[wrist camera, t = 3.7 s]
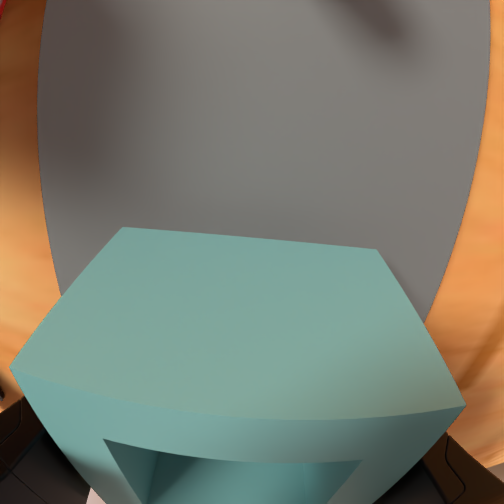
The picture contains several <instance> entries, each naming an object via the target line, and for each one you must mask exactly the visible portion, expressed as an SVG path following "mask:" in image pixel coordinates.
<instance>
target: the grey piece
mask: <svg viewBox="0 0 504 504" xmlns="http://www.w3.org/2000/svg"><path fill="white" fill-rule="evenodd" d="M489 61H490V2H489V0H47V2H46V7H45V14H44V20H43V27H42V35H41V45H40V55H39V69H38V90H37V132H38V153H39V167H40V179H41V188H42V197H43V205H44V212H45V219H46V225H47V231H48V237H49V243H50V248H51V253H52V258H53V263H54V268H55V272H56V276H57V281H58V285H59V289H60V293H61V297H62V295H63V294H64V293H65V292H66V290H67V289H68V288H69V287H70V286H71V284H72V283H73V282H74V281H75V280H76V278H77V277H78V276H79V275H80V274H81V273H82V271H83V270H84V269H85V268H86V267H87V266H88V264H89V263H90V262H91V261H92V260H93V259H94V258H95V256H96V255H97V254H98V253H99V252H100V251H101V250H102V249H103V248H104V246H105V245H106V244H107V243H108V242H109V241H110V240H111V239H112V238H113V237H114V235H115V234H116V233H117V232H118V231H119V230H120V229H121V228H122V227H130V228H143V229H156V230H169V231H181V232H193V233H205V234H217V235H229V236H240V237H251V238H263V239H274V240H285V241H295V242H306V243H317V244H327V245H337V246H348V247H358V248H368V249H377V251H378V252H379V254H380V255H381V257H382V258H383V260H384V261H385V263H386V264H387V266H388V267H389V269H390V270H391V272H392V273H393V275H394V277H395V278H396V280H397V281H398V283H399V284H400V286H401V288H402V289H403V291H404V292H405V294H406V296H407V297H408V299H409V300H410V302H411V304H412V305H413V307H414V309H415V310H416V312H417V314H418V315H419V317H420V319H421V320H422V322H423V324H424V322H425V320H426V317H427V315H428V313H429V310H430V308H431V306H432V303H433V301H434V298H435V296H436V293H437V291H438V288H439V286H440V283H441V281H442V278H443V275H444V273H445V270H446V267H447V264H448V262H449V259H450V256H451V253H452V250H453V247H454V244H455V241H456V238H457V235H458V231H459V228H460V225H461V221H462V218H463V214H464V211H465V207H466V204H467V200H468V196H469V192H470V188H471V184H472V180H473V175H474V171H475V166H476V161H477V156H478V151H479V146H480V140H481V134H482V128H483V122H484V114H485V107H486V98H487V89H488V77H489Z"/></svg>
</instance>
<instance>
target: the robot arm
mask: <svg viewBox="0 0 504 504" xmlns="http://www.w3.org/2000/svg"><path fill="white" fill-rule="evenodd" d="M4 398H5V396H4V394H3V392H2V391H1V389H0V401H3V399H4ZM90 488H91V486H90V485H89V484H88V483H87V482H86V481H85V480H84V478H83V477H82V476H81V475H80V474H79V472H78V471H77V470H76V469H75V467H74V466H73V465H72V464H71V462H70V461H69V460H68V459H67V457H66V456H65V455H64V453H63V452H62V451H61V449H60V448H59V447H58V445H57V444H56V443H55V441H54V440H53V438H52V437H51V436H50V434H49V433H48V431H47V430H46V428H45V427H44V425H43V424H42V422H41V421H40V419H39V418H38V416H37V415H36V413H35V412H34V410H33V408H32V407H31V405H30V403H29V402H28V400H27V399H26V397H25V396H23V397H22V398H21V400H18V401H16V402H15V403H14V404H12V405H11V406H10V407H8V408H7V409H5V410H4V411H2V412H1V413H0V504H86V502H87V498H88V495H89V492H90ZM372 504H504V482H502V481H501V480H500V479H499V478H497V477H496V476H495V475H494V474H492V473H491V472H490V471H489V470H487V469H486V468H485V467H484V466H482V465H481V464H480V463H479V462H478V461H477V460H475V459H474V458H473V457H472V456H471V455H470V454H468V453H467V452H466V451H465V450H464V449H463V448H462V447H461V446H460V445H459V444H458V443H457V442H456V441H455V440H454V439H453V438H452V437H451V436H450V435H449V436H448V433H447V432H446V431H445V432H444V434H443V435H442V436H441V437H440V438H439V439H438V440H437V442H436V443H435V444H434V445H433V446H432V447H431V448H430V449H429V450H428V451H427V452H426V454H425V455H424V456H423V457H422V458H421V459H420V460H419V461H418V462H417V463H416V464H415V465H414V466H413V467H412V468H411V469H410V470H409V471H408V472H407V473H406V474H405V475H404V476H403V477H402V478H401V479H399V480H398V481H397V482H396V483H395V484H394V485H393V486H392V487H391V488H390V489H389V490H387V491H386V492H385V493H384V494H383V495H382V496H381V497H379V498H378V499H377V500H376V501H375V502H374V503H372Z"/></svg>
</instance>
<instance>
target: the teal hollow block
mask: <svg viewBox="0 0 504 504" xmlns="http://www.w3.org/2000/svg"><path fill="white" fill-rule="evenodd" d="M9 368H10V370H11V372H12V374H13V376H14V377H15V379H16V381H17V383H18V385H19V386H20V388H21V390H22V392H23V393H24V395H25V397H26V399H27V400H28V402H29V403H30V405H31V407H32V408H33V410H34V412H35V413H36V415H37V416H38V418H39V419H40V421H41V422H42V424H43V425H44V427H45V428H46V430H47V431H48V433H49V434H50V436H51V437H52V438H53V440H54V441H55V443H56V444H57V445H58V447H59V448H60V449H61V451H62V452H63V453H64V455H65V456H66V457H67V459H68V460H69V461H70V462H71V464H72V465H73V466H74V467H75V469H76V470H77V471H78V472H79V474H80V475H81V476H82V477H83V478H84V480H85V481H86V482H87V483H88V484H89V485H90V486H91V488H92V489H93V490H94V491H95V492H96V493H97V494H98V495H99V496H100V497H101V498H102V500H103V501H104V502H105V503H106V504H372V503H374V502H375V501H376V500H377V499H378V498H379V497H381V496H382V495H383V494H384V493H385V492H386V491H387V490H389V489H390V488H391V487H392V486H393V485H394V484H395V483H396V482H397V481H398V480H399V479H401V478H402V477H403V476H404V475H405V474H406V473H407V472H408V471H409V470H410V469H411V468H412V467H413V466H414V465H415V464H416V463H417V462H418V461H419V460H420V459H421V458H422V457H423V456H424V455H425V454H426V452H427V451H428V450H429V449H430V448H431V447H432V446H433V445H434V444H435V443H436V442H437V440H438V439H439V438H440V437H441V436H442V435H443V434H444V432H445V431H446V430H447V429H448V428H449V427H450V425H451V424H452V423H453V422H454V420H455V419H456V418H457V417H458V416H459V414H460V413H461V412H462V410H463V409H464V408H465V407H466V403H465V401H464V399H463V397H462V395H461V393H460V391H459V389H458V387H457V385H456V383H455V381H454V379H453V377H452V375H451V373H450V371H449V369H448V367H447V365H446V363H445V361H444V360H443V358H442V356H441V354H440V352H439V350H438V349H437V347H436V345H435V343H434V341H433V340H432V338H431V336H430V334H429V333H428V331H427V329H426V327H425V326H424V324H423V322H422V320H421V319H420V317H419V315H418V314H417V312H416V310H415V309H414V307H413V305H412V304H411V302H410V300H409V299H408V297H407V296H406V294H405V292H404V291H403V289H402V288H401V286H400V284H399V283H398V281H397V280H396V278H395V277H394V275H393V273H392V272H391V270H390V269H389V267H388V266H387V264H386V263H385V261H384V260H383V258H382V257H381V255H380V254H379V252H378V251H377V249H368V248H358V247H348V246H337V245H327V244H317V243H306V242H295V241H285V240H274V239H263V238H251V237H240V236H229V235H217V234H205V233H193V232H181V231H169V230H156V229H143V228H130V227H122V228H121V229H120V230H119V231H118V232H117V233H116V234H115V235H114V237H113V238H112V239H111V240H110V241H109V242H108V243H107V244H106V245H105V246H104V248H103V249H102V250H101V251H100V252H99V253H98V254H97V255H96V256H95V258H94V259H93V260H92V261H91V262H90V263H89V264H88V266H87V267H86V268H85V269H84V270H83V271H82V273H81V274H80V275H79V276H78V277H77V278H76V280H75V281H74V282H73V283H72V284H71V286H70V287H69V288H68V289H67V290H66V292H65V293H64V294H63V295H62V297H61V298H60V299H59V300H58V302H57V303H56V304H55V305H54V307H53V308H52V309H51V310H50V312H49V313H48V314H47V316H46V317H45V318H44V319H43V321H42V322H41V323H40V325H39V326H38V327H37V329H36V330H35V331H34V333H33V334H32V335H31V337H30V338H29V339H28V341H27V342H26V344H25V345H24V346H23V348H22V349H21V351H20V352H19V353H18V355H17V356H16V358H15V359H14V361H13V362H12V363H11V365H10V366H9Z"/></svg>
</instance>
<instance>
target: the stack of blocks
mask: <svg viewBox="0 0 504 504" xmlns="http://www.w3.org/2000/svg"><path fill="white" fill-rule="evenodd" d="M6 1H7V0H0V19H1V15H2V12H3V9H4V6H5V3H6Z"/></svg>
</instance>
